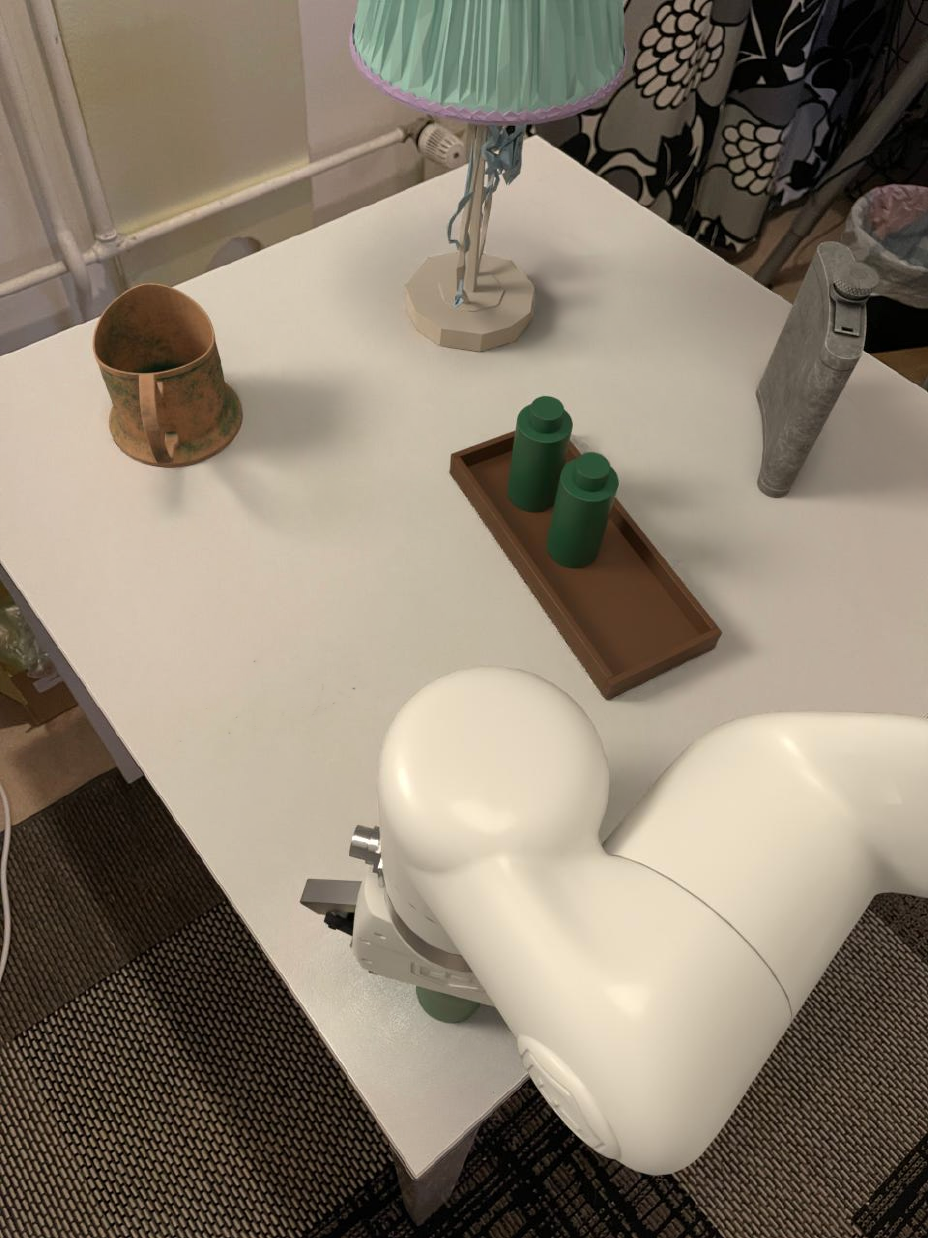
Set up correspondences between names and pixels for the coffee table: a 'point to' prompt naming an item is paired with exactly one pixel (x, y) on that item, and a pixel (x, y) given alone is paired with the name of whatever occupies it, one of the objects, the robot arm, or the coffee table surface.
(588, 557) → the bottle mid
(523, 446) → the bottle far
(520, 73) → the table lamp
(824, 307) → the flask
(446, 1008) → the bottle
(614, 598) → the tray
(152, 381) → the mug
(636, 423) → the coffee table surface
